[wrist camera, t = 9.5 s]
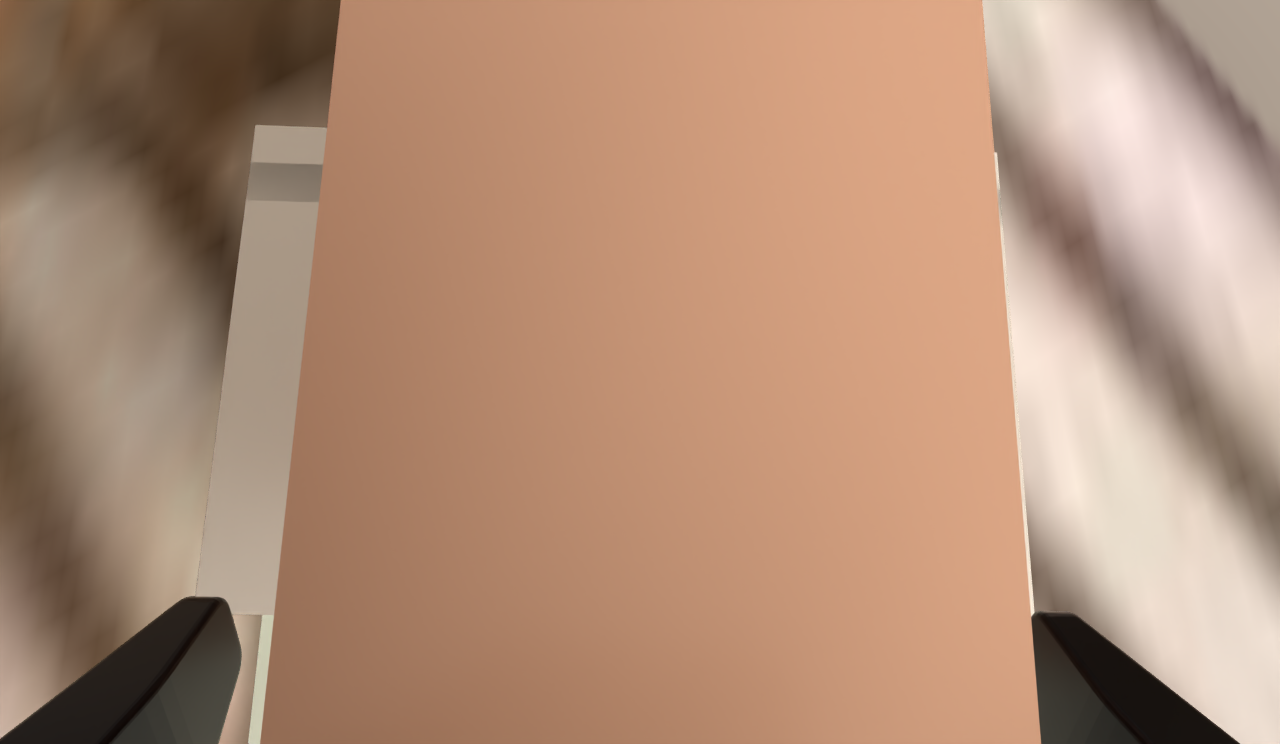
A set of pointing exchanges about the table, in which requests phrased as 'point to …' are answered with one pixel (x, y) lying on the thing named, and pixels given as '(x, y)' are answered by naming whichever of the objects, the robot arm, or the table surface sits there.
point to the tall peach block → (655, 384)
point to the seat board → (289, 384)
